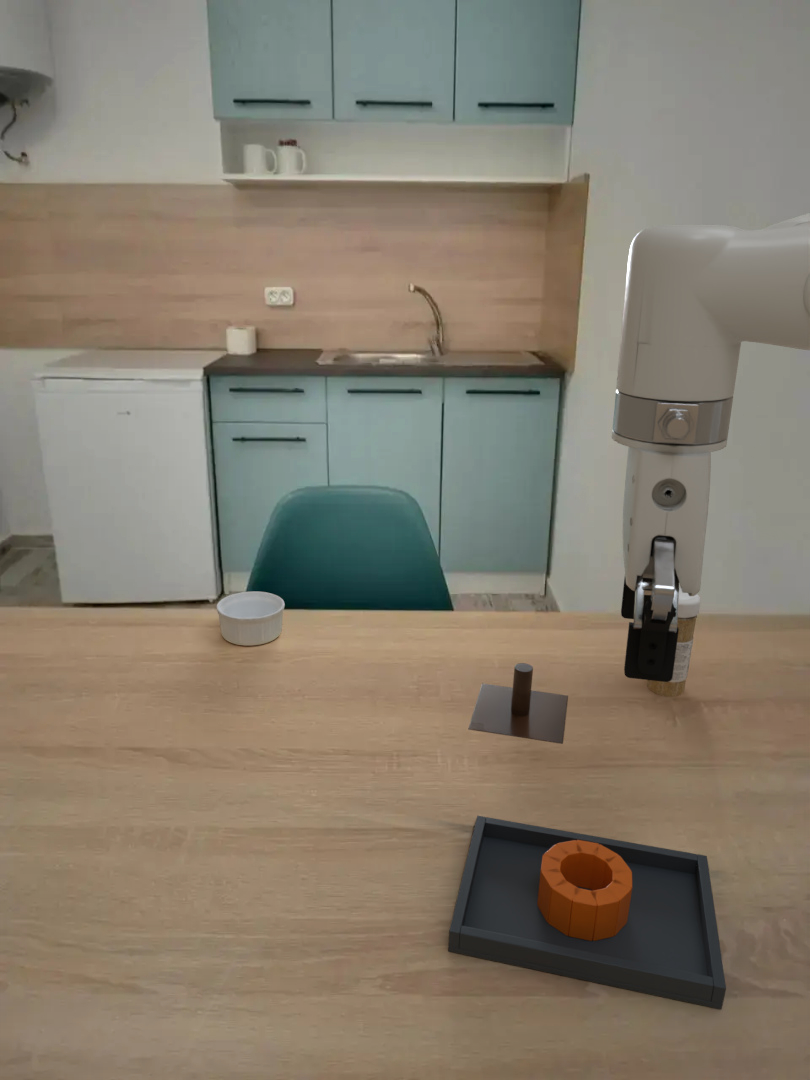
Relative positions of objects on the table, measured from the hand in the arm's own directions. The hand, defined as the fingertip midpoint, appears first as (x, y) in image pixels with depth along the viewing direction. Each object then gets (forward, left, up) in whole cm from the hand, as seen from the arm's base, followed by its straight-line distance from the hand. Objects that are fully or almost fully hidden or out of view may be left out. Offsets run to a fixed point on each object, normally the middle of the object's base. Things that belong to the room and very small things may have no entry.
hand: (644, 646), depth 62 cm
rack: (+10, -22, -22) cm, 33 cm away
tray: (+2, +4, -22) cm, 23 cm away
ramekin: (+47, -34, -22) cm, 62 cm away
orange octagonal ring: (+2, +4, -22) cm, 22 cm away
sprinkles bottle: (-6, -32, -22) cm, 40 cm away
